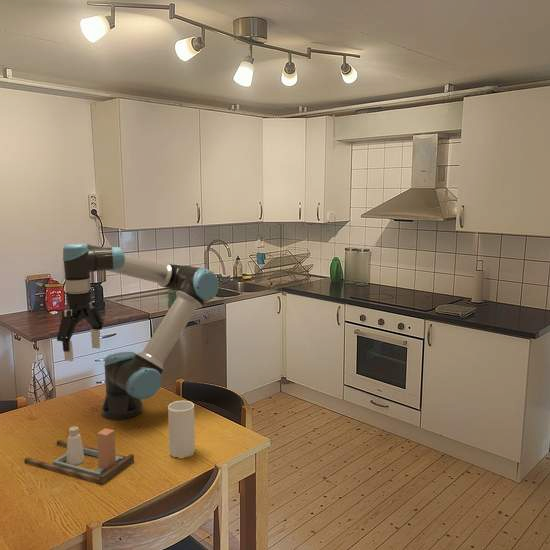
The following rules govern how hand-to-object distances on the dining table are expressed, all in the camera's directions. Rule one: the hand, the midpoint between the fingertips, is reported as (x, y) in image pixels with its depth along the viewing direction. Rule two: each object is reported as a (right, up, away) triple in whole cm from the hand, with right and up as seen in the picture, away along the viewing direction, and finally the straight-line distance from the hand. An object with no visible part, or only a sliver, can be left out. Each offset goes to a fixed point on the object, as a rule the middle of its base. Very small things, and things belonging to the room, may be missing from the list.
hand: (83, 354), depth 169 cm
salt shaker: (+1, -32, -10) cm, 34 cm away
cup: (+34, -32, -4) cm, 46 cm away
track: (+3, -32, -10) cm, 34 cm away
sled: (+6, -32, -12) cm, 35 cm away
